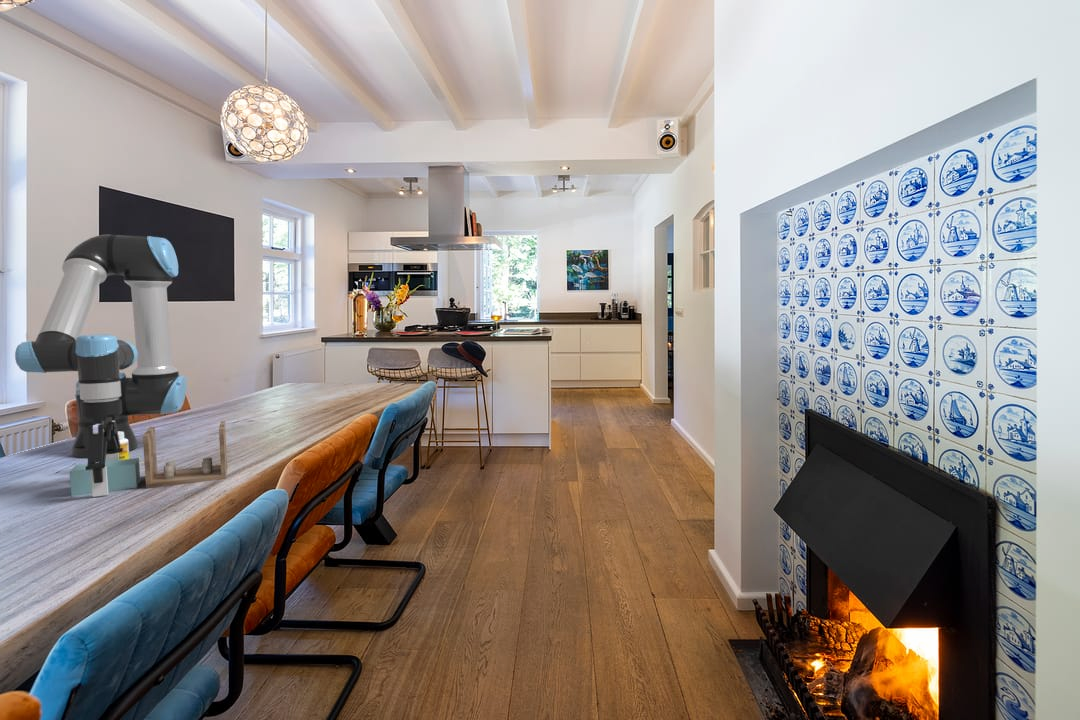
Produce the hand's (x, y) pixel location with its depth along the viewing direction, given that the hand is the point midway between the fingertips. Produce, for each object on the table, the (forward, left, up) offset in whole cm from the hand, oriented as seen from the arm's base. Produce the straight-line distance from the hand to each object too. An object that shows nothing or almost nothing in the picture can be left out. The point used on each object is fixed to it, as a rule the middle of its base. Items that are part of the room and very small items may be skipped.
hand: (107, 487), depth 125 cm
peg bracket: (0, +17, 0) cm, 17 cm away
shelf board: (0, 0, 0) cm, 0 cm away
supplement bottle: (-16, -1, 0) cm, 16 cm away
